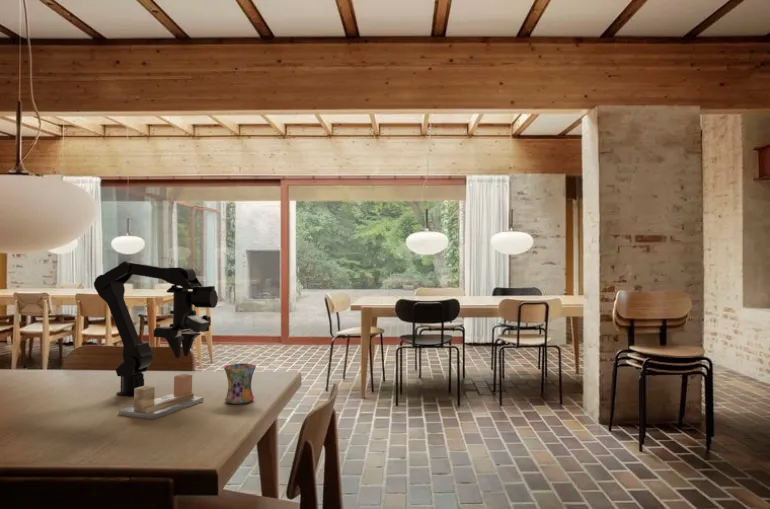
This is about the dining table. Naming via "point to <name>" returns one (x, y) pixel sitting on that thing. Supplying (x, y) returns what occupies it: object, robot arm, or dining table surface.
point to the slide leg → (182, 385)
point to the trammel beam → (146, 399)
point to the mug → (239, 383)
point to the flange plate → (162, 411)
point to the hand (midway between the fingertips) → (182, 357)
